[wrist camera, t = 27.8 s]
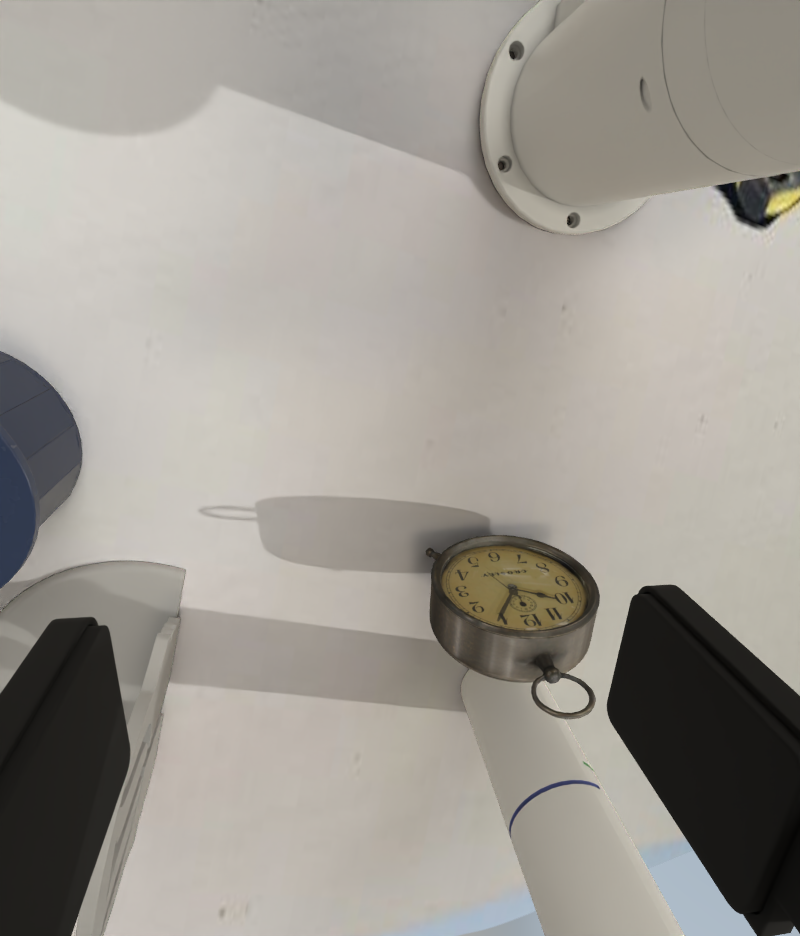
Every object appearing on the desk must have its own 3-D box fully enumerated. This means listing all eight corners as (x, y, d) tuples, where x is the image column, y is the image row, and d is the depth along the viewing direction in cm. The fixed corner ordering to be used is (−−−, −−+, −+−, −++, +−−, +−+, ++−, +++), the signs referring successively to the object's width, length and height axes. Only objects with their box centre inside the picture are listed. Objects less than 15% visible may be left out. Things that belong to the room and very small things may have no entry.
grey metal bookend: (150, 788, 46) (74, 1054, 31) (-27, 779, 43) (-211, 1070, 28) (190, 568, 39) (116, 769, 24) (-18, 537, 36) (-256, 746, 21)
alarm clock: (551, 523, 43) (681, 667, 28) (543, 581, 45) (660, 745, 30) (414, 531, 41) (476, 689, 26) (412, 591, 43) (468, 770, 28)
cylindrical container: (486, 641, 46) (663, 1024, 23) (552, 664, 48) (774, 1035, 25) (446, 703, 48) (572, 1114, 25) (511, 723, 50) (683, 1118, 27)
